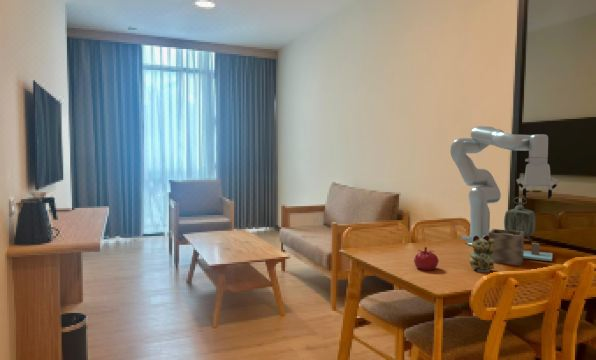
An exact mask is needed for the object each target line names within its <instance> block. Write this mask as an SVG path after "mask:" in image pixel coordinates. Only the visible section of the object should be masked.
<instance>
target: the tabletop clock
mask: <svg viewBox="0 0 596 360" xmlns="http://www.w3.org/2000/svg"><path fill="white" fill-rule="evenodd" d="M516 199H524V200H525V202H523V203H522V201H519V202H516V201H515V200H516ZM512 202H513V203H514V204H515V205H516V206H515V207H514V208H512V209H509V210H506V211H505V213H504V221H503V225H504V226H503V227H504V230H512V231H524V237H527V238H528V240H529V242H530V243H533V239H532V238H531V236H532V235H534V233H535V231H536V225H537V218H536V213H535V211H533V210H530V209H526V208H525V206H524V205H525V204H527V203H528V200H527V198H524V196H516V197H514V198H513V200H512Z"/></svg>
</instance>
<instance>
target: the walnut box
mask: <svg viewBox="0 0 596 360" xmlns="http://www.w3.org/2000/svg"><path fill="white" fill-rule="evenodd" d="M501 233H506V234H501ZM509 234H513V235H509ZM489 239H494V240H495V242H494V243H493V248H494V252H493V253H492V254H491V255H490V258H492V259H494V261H495V263H496V264H506V265H513V266H522V264H523V262H524V259H523V255H524V250H525V246H524V245H525V244H524V243H525V236H524V231H512V230H505V229H501V228H500V229H498V228H497V229H496V228H492V229H491V230H489ZM495 263H494V264H495Z"/></svg>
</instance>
